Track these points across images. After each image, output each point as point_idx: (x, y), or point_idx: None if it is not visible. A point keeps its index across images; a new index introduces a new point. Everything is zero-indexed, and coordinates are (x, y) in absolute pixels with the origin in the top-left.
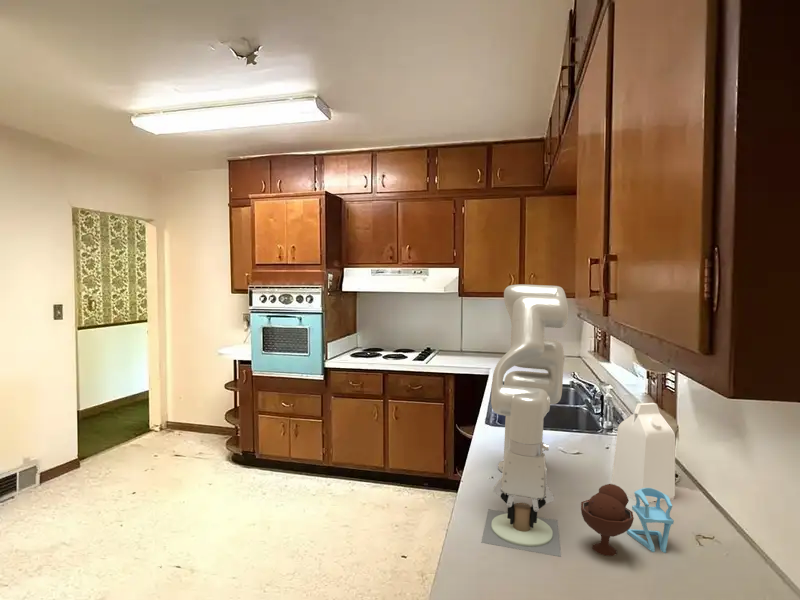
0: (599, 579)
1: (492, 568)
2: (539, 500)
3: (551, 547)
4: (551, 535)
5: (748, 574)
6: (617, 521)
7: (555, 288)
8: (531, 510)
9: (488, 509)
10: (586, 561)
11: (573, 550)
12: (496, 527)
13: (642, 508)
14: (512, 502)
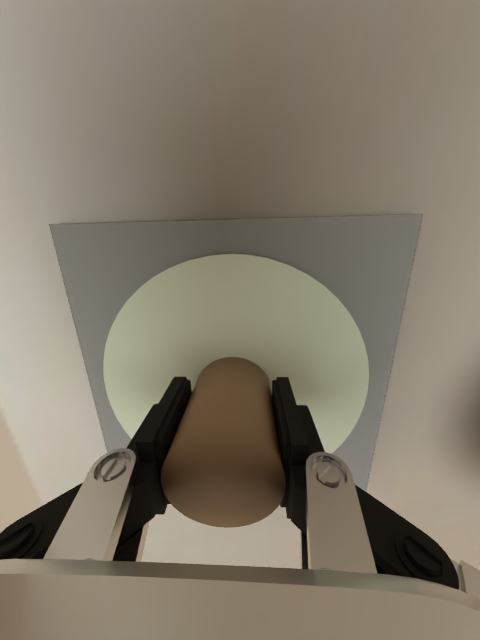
0: (449, 534)
1: (176, 553)
2: (376, 557)
3: (342, 457)
4: (357, 414)
5: None
6: None
7: None
8: (284, 497)
9: (51, 231)
10: (443, 474)
11: (419, 429)
12: (135, 422)
13: None
14: (140, 558)
